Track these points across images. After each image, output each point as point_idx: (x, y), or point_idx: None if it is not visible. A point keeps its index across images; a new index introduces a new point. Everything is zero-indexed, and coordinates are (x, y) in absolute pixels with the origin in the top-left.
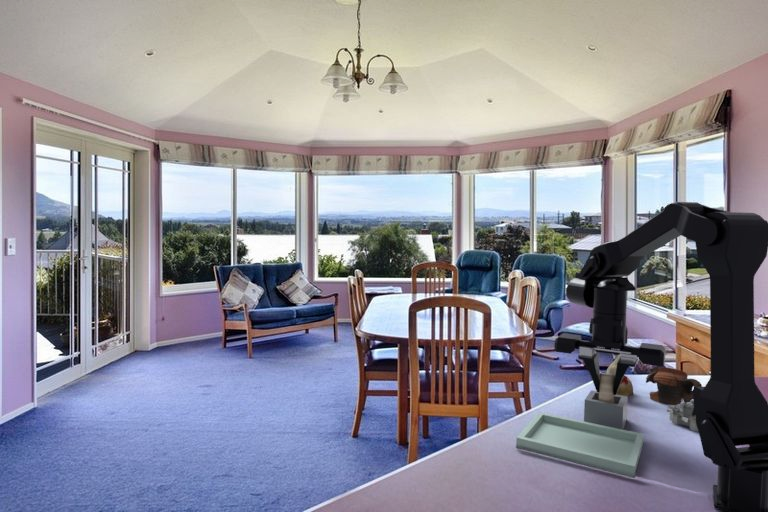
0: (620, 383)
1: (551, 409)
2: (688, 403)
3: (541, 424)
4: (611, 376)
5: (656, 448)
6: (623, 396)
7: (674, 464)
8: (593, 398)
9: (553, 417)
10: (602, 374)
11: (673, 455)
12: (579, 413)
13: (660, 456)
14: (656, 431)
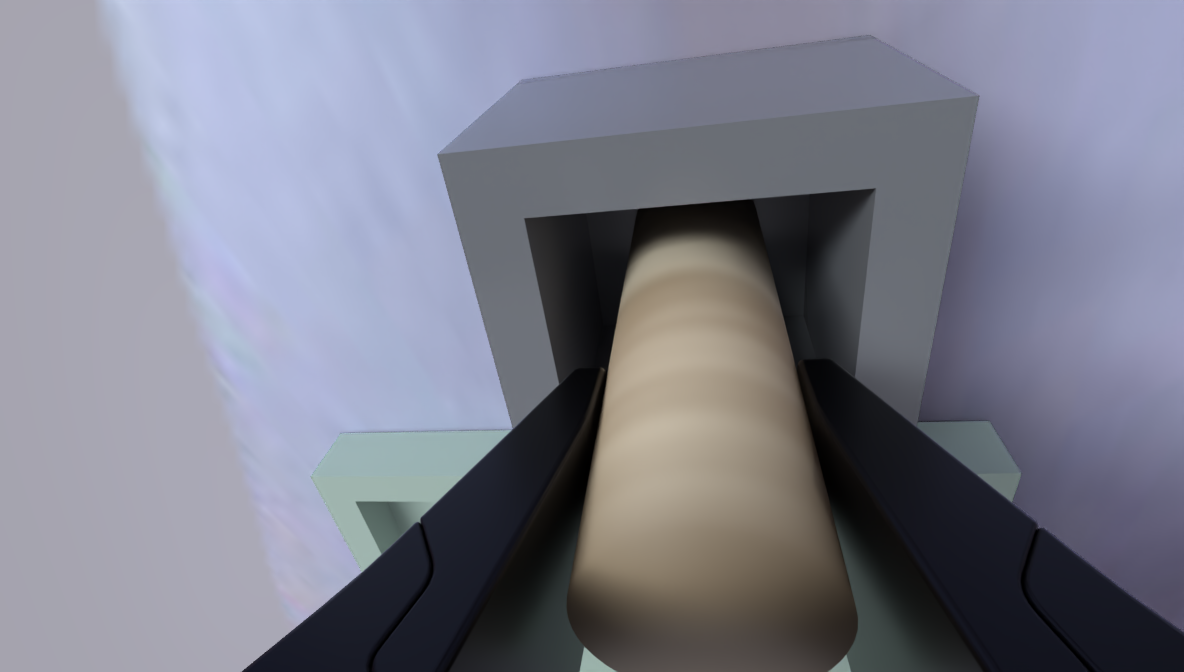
0: (934, 444)
1: (238, 181)
2: None
3: (400, 515)
4: (796, 656)
5: (1071, 434)
6: (910, 127)
7: (1135, 562)
8: (558, 333)
9: (418, 497)
10: (619, 626)
11: (1169, 473)
12: (436, 112)
13: (1072, 516)
14: (1164, 97)
